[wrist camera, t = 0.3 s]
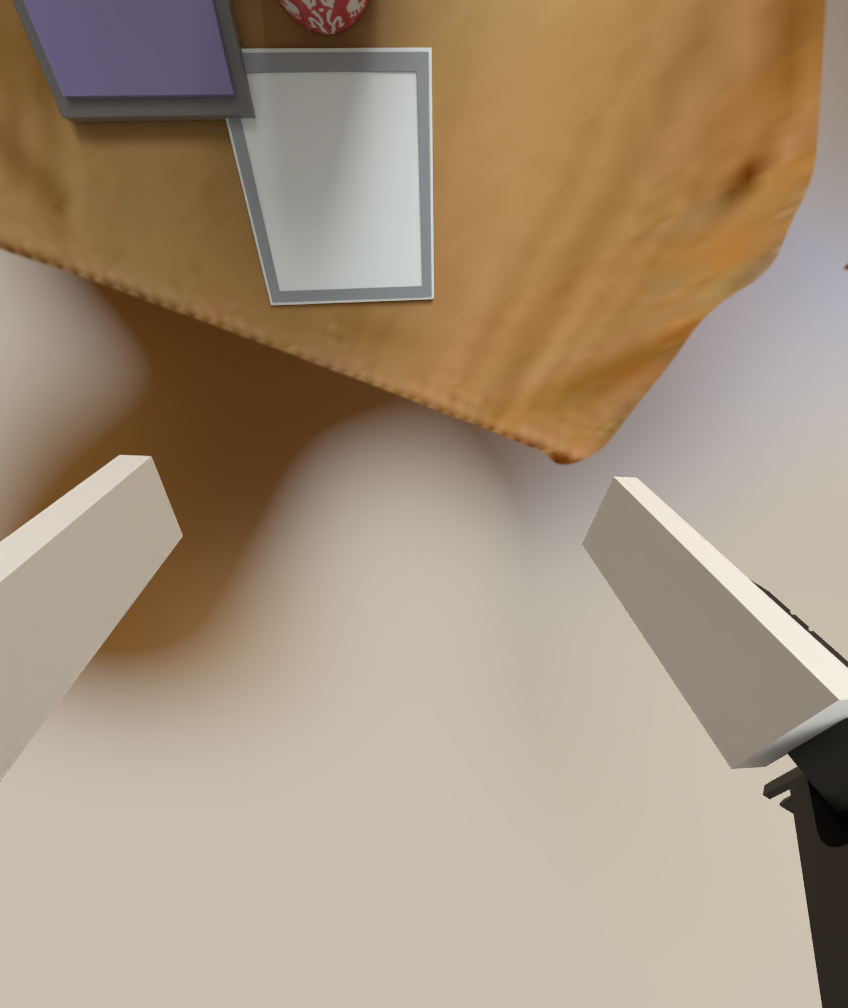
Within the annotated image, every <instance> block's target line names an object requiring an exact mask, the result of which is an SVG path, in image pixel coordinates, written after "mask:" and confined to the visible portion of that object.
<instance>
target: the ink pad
mask: <svg viewBox="0 0 848 1008" xmlns="http://www.w3.org/2000/svg"><path fill="white" fill-rule="evenodd" d="M13 3H14V5H15V7H16V10H17V12H18V14H19V17H20V19H21V21H22V24H23V26H24V28H25V31H26V33H27V35H28V38H29V40H30V42H31V45H32V47H33V49H34V52H35V54H36V56H37V59H38V61H39V63H40V66H41V68H42V70H43V73H44V75H45V77H46V80H47V82H48V84H49V87H50V89H51V91H52V94H53V96H54V98H55V101H56V103H57V105H58V108H59V110H60V112H61V115H62V117H63V118H66V119H68V120H70V121H73V122H121V121H190V120H226V118H256V117H255V112H254V107H253V103H252V98H251V93H250V88H249V84H248V79H247V74H246V71H245V66H244V62H243V57H242V50H241V49H242V45H241V40H240V35H239V30H238V25H237V21H236V16H235V11H234V6H233V1H232V0H13Z"/></svg>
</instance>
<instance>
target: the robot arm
mask: <svg viewBox="0 0 848 1008" xmlns="http://www.w3.org/2000/svg"><path fill="white" fill-rule="evenodd" d="M182 536H183V535H182V533H181V530H180V527H179V525H178V523H177V520H176V517H175V515H174V512H173V510H172V508H171V505H170V502H169V500H168V497H167V495H166V492H165V489H164V487H163V485H162V482H161V479H160V477H159V474H158V472H157V469H156V467H155V464H154V462H153V459H152V457H151V456H134V455H119V456H117V457H116V458H115V459H113V460H112V461H111V462H109V463H108V464H107V465H105V466H104V467H102V468H101V469H100V470H98V471H97V472H96V473H94V474H93V475H91V476H90V477H89V478H87V479H86V480H85V481H83V482H82V483H81V484H79V485H78V486H76V487H75V488H74V489H72V490H71V491H69V492H68V493H67V494H65V495H64V496H63V497H61V498H60V499H59V500H57V501H56V502H54V503H53V504H52V505H50V506H49V507H48V508H46V509H45V510H44V511H42V512H41V513H40V514H38V515H37V516H35V517H34V518H33V519H31V520H30V521H28V522H27V523H26V524H24V525H23V526H22V527H20V528H19V529H17V530H16V531H15V532H14V533H12V534H11V535H9V536H8V537H7V538H5V539H4V540H2V541H1V542H0V781H1V779H2V778H3V777H4V775H5V774H6V773H7V771H8V770H9V769H10V767H11V766H12V765H13V763H14V762H15V761H16V759H17V758H18V757H19V755H20V754H21V753H22V751H23V750H24V748H25V747H26V746H27V744H28V743H29V742H30V741H31V739H32V738H33V737H34V735H35V734H36V732H37V731H38V730H39V728H40V727H41V726H42V724H43V723H44V722H45V720H46V719H47V718H48V716H49V715H50V714H51V712H52V711H53V710H54V708H55V707H56V706H57V704H58V703H59V701H60V700H61V699H62V698H63V696H64V695H65V693H66V692H67V691H68V690H69V688H70V687H71V685H72V684H73V683H74V681H75V680H76V679H77V677H78V676H79V675H80V673H81V672H82V671H83V669H84V668H85V667H86V665H87V664H88V663H89V661H90V660H91V659H92V657H93V656H94V654H95V653H96V652H97V651H98V649H99V648H100V647H101V645H102V644H103V643H104V641H105V640H106V638H107V637H108V635H109V634H110V633H111V632H112V630H113V629H114V628H115V626H116V625H117V624H118V622H119V621H120V620H121V618H122V617H123V616H124V614H125V613H126V612H127V610H128V609H129V608H130V606H131V605H132V604H133V602H134V601H135V599H136V598H137V597H138V596H139V594H140V593H141V592H142V590H143V589H144V587H145V586H146V585H147V583H148V582H149V581H150V580H151V578H152V577H153V575H154V574H155V573H156V571H157V570H158V569H159V567H160V566H161V565H162V563H163V562H164V561H165V559H166V558H167V557H168V555H169V554H170V553H171V551H172V550H173V549H174V547H175V546H176V545H177V543H178V542H179V540H180V539H181V538H182ZM582 544H583V546H584V548H585V549H586V551H587V552H588V553H589V555H590V557H591V558H592V559H593V561H594V563H595V564H596V566H597V567H598V569H599V570H600V571H601V573H602V575H603V576H604V578H605V579H606V580H607V582H608V584H609V585H610V587H611V588H612V590H613V591H614V593H615V594H616V596H617V597H618V599H619V600H620V602H621V603H622V605H623V606H624V608H625V609H626V611H627V612H628V613H629V615H630V617H631V618H632V620H633V621H634V623H635V624H636V626H637V627H638V629H639V630H640V632H641V633H642V635H643V636H644V638H645V639H646V641H647V642H648V644H649V645H650V647H651V648H652V650H653V651H654V653H655V654H656V656H657V657H658V659H659V660H660V662H661V663H662V665H663V666H664V668H665V669H666V671H667V672H668V674H669V675H670V677H671V678H672V680H673V681H674V683H675V685H676V686H677V688H678V689H679V690H680V692H681V694H682V695H683V697H684V698H685V700H686V701H687V702H688V704H689V706H690V707H691V709H692V710H693V712H694V713H695V714H696V716H697V718H698V719H699V721H700V722H701V724H702V725H703V727H704V728H705V730H706V731H707V733H708V734H709V736H710V737H711V739H712V740H713V741H714V743H715V745H716V746H717V748H718V749H719V751H720V752H721V754H722V755H723V757H724V758H725V760H726V761H727V763H728V764H729V766H730V767H731V769H736V768H752V767H766V766H767V765H769V764H771V763H773V762H774V761H776V760H778V759H779V758H781V757H783V756H784V755H786V754H788V755H789V756H790V757H791V758H792V760H793V761H794V762H795V763H796V765H797V766H798V767H796V768H794V769H792V770H791V771H789V772H787V773H785V774H783V775H781V776H780V777H778V778H776V779H774V780H772V781H771V782H769V783H768V784H766V785H765V786H764V792H763V795H764V796H766V797H767V798H769V799H771V798H773V797H775V796H777V795H779V794H781V793H783V792H785V791H787V790H790V793H791V796H789V797H787V798H785V799H783V800H782V802H781V803H780V806H782V807H783V808H785V809H786V810H788V811H790V812H791V813H793V814H794V819H795V826H796V833H797V840H798V846H799V852H800V860H801V866H802V873H803V880H804V887H805V894H806V900H807V907H808V914H809V920H810V927H811V933H812V941H813V947H814V953H815V961H816V968H817V974H818V981H819V988H820V994H821V1001H822V1008H848V661H846V660H845V659H844V658H843V657H842V656H841V655H840V654H839V653H838V652H836V651H835V650H834V649H833V648H832V647H831V646H830V645H828V644H827V643H826V642H825V641H824V640H823V639H822V638H821V637H819V636H818V635H817V634H816V633H815V632H814V631H809V629H808V628H809V627H808V626H807V625H806V624H805V623H803V621H801V620H800V619H799V618H798V617H797V616H796V615H792V614H791V613H790V610H789V609H788V608H787V607H786V606H785V605H783V604H782V603H781V602H780V601H779V600H778V599H777V598H776V597H774V596H773V595H772V594H771V593H770V592H769V591H767V590H766V589H764V588H763V587H761V586H759V585H758V584H756V583H754V582H753V581H751V580H750V579H748V578H747V577H746V576H745V575H744V574H743V573H742V572H741V571H740V570H738V569H737V568H736V567H735V566H734V565H733V564H732V563H731V562H730V561H728V560H727V559H726V558H725V557H724V556H723V555H722V554H721V553H719V552H718V551H717V550H716V549H715V548H714V547H713V546H712V545H710V544H709V543H708V542H707V541H706V540H705V539H704V538H703V537H702V536H701V535H700V534H698V533H697V532H696V531H695V530H694V529H693V528H692V527H691V526H690V525H688V524H687V523H686V522H685V521H684V520H683V519H682V518H680V516H678V515H677V514H676V513H675V512H674V511H673V510H672V509H671V508H670V507H669V506H667V505H666V504H665V503H664V502H663V501H662V500H661V499H660V498H659V497H657V496H656V495H655V494H654V493H653V492H652V491H651V490H650V489H649V488H647V487H646V486H645V485H644V484H643V483H642V482H641V481H640V480H639V479H637V478H629V477H613V479H612V482H611V484H610V486H609V488H608V490H607V492H606V494H605V496H604V499H603V501H602V503H601V505H600V507H599V509H598V511H597V513H596V516H595V518H594V520H593V522H592V524H591V527H590V528H589V530H588V533H587V535H586V537H585V539H584V541H583V543H582Z"/></svg>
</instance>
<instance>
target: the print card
mask: <svg viewBox="0 0 848 1008" xmlns="http://www.w3.org/2000/svg"><path fill="white" fill-rule="evenodd" d="M241 50H242V57H243V62H244V66H245V71H246V74H247V79H248V84H249V88H250V93H251V98H252V103H253V107H254V112H255V117H256V118H226V123H227V127H228V131H229V135H230V139H231V143H232V147H233V151H234V155H235V159H236V164H237V168H238V172H239V176H240V180H241V184H242V188H243V192H244V196H245V200H246V204H247V209H248V213H249V217H250V221H251V225H252V229H253V233H254V237H255V241H256V245H257V250H258V254H259V258H260V262H261V266H262V270H263V274H264V278H265V282H266V286H267V290H268V295H269V299H270V303H271V305H292V304H317V303H343V302H369V301H394V300H420V299H434V254H433V150H432V48H254V49H241Z"/></svg>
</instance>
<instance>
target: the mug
mask: <svg viewBox="0 0 848 1008" xmlns="http://www.w3.org/2000/svg"><path fill="white" fill-rule="evenodd" d="M278 1H279V2H280V4H281V5H282V6H283V8H284V9H285V10H286V12H287V13H288V14H289V15H290V16H291V17H292V18H293V19H294V20H295V21H297V22H298V23H299V24H300V25H302V26H303V27H305V28H307V29H309V30H311V31H313V32H316V33H318V34H337V33H339V32H342V31H344V30H346V29H348V28H349V27H350V26H352V25H353V24H354V23H355V22H356V21H357V20H358V19H359V18H360V16H361V15H362V14H363V12H364V10H365V9H366V7H367V5H368V3H369V1H370V0H278Z"/></svg>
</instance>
